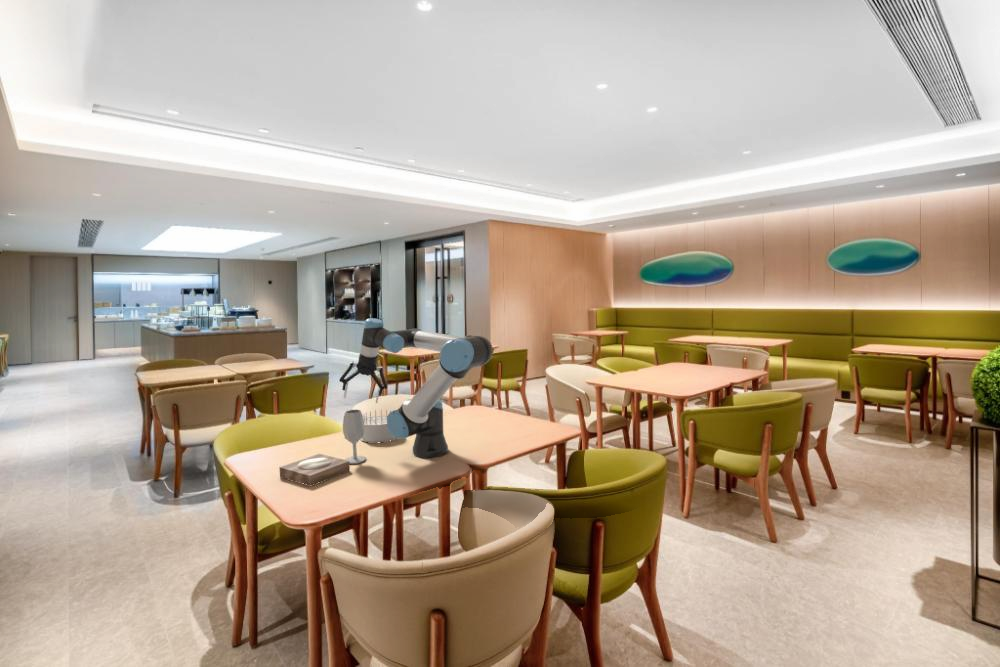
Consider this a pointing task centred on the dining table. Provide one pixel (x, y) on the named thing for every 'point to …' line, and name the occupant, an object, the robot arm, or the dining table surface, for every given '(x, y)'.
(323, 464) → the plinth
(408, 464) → the dining table surface
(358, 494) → the dining table surface
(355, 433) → the wineglass
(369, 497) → the dining table surface
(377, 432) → the cake
